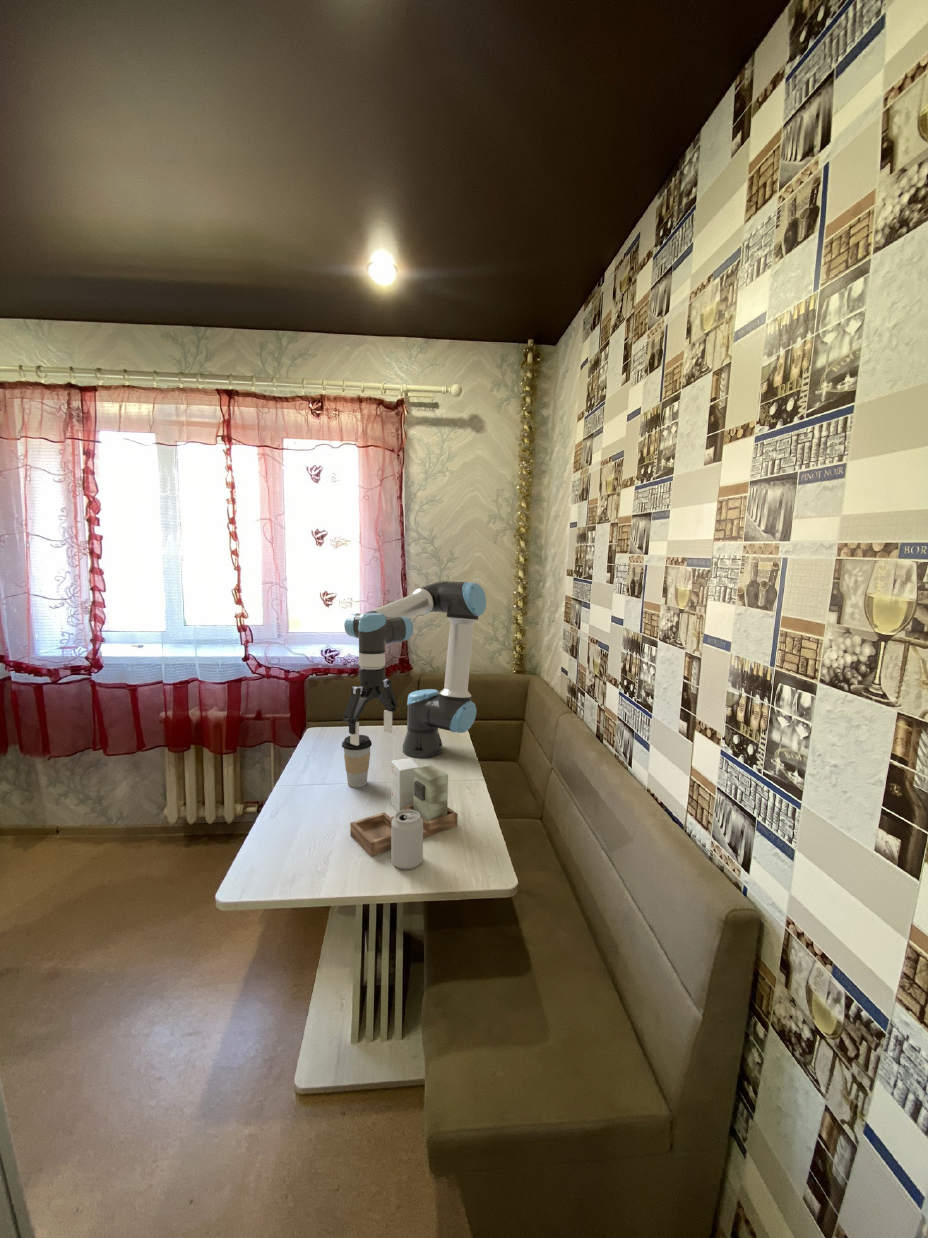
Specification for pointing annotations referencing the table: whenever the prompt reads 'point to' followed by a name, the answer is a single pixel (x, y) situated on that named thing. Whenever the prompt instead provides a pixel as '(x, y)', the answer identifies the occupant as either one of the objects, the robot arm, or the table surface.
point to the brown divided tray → (426, 801)
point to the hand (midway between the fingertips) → (371, 738)
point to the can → (407, 839)
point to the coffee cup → (357, 760)
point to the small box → (402, 782)
